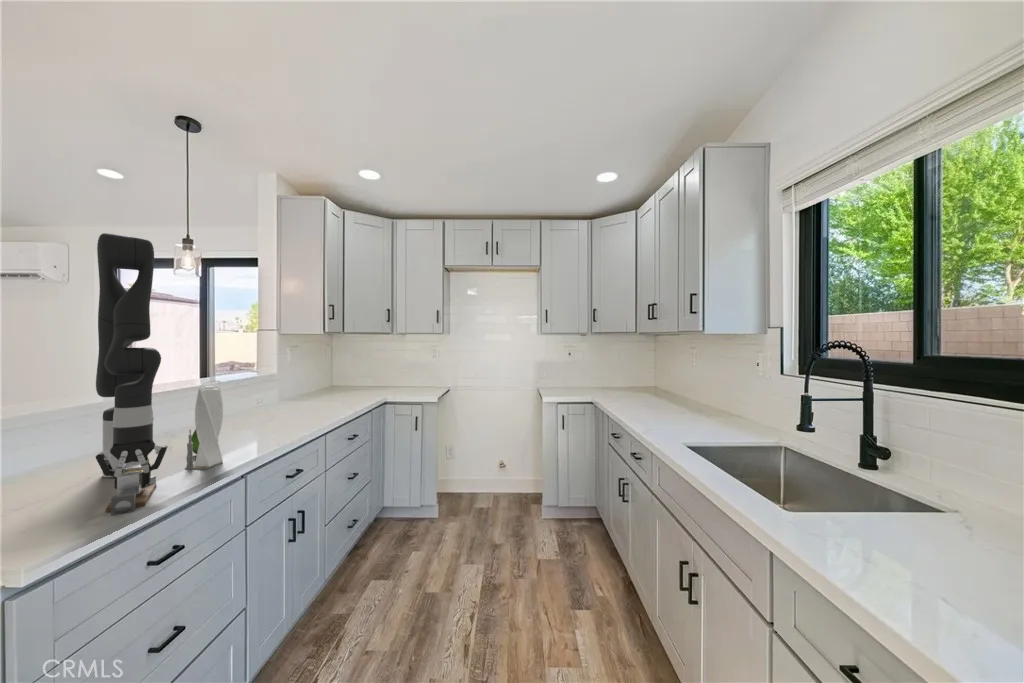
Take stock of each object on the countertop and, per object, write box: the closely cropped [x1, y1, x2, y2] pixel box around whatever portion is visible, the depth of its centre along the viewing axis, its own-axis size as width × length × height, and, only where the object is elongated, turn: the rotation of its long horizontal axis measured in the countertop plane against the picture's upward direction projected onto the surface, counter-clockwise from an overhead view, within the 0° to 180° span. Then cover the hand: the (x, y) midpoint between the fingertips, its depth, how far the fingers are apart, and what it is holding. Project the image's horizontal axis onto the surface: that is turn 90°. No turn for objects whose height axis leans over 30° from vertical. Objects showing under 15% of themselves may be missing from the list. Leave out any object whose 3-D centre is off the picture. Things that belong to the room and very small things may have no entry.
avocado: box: [191, 428, 199, 455], centre depth 140 cm, size 8×8×12 cm
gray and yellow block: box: [116, 465, 143, 496], centre depth 101 cm, size 4×10×5 cm, turn 35°
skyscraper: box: [184, 380, 224, 471], centre depth 128 cm, size 8×8×28 cm
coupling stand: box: [105, 475, 157, 516], centre depth 102 cm, size 21×7×4 cm, turn 35°
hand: (133, 487), depth 101 cm, fingers closed on gray and yellow block, 4 cm apart
